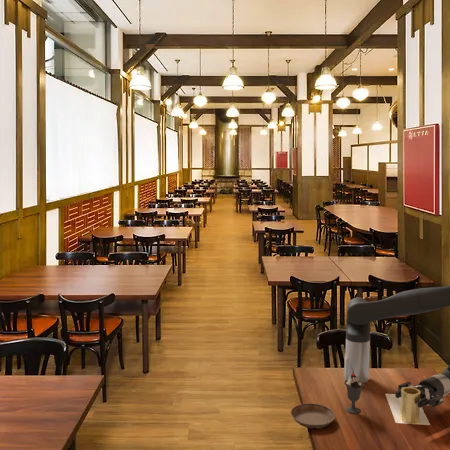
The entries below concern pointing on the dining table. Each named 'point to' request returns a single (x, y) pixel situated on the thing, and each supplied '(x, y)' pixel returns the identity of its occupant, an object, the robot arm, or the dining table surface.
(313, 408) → the saucer
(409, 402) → the sleeve
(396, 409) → the mat
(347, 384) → the sundae
